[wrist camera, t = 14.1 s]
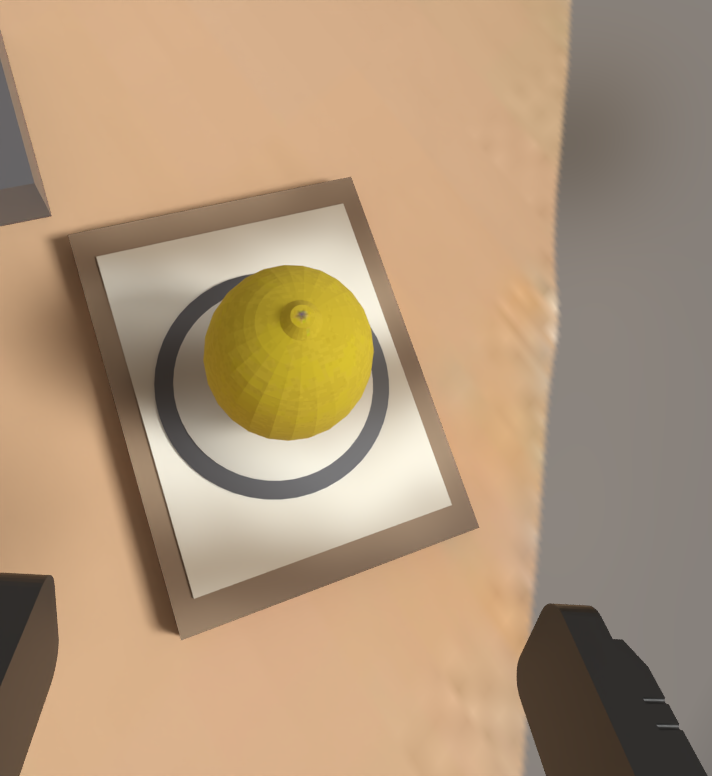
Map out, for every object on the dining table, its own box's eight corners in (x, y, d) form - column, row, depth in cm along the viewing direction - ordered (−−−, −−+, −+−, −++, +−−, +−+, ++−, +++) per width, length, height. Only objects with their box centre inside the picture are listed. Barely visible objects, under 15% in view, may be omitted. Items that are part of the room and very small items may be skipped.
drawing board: (73, 246, 26) (66, 231, 25) (346, 188, 29) (352, 173, 28) (183, 636, 24) (180, 641, 22) (470, 528, 27) (482, 527, 25)
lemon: (320, 302, 26) (359, 203, 19) (367, 428, 25) (429, 378, 18) (187, 340, 25) (171, 250, 17) (233, 475, 24) (237, 443, 16)
